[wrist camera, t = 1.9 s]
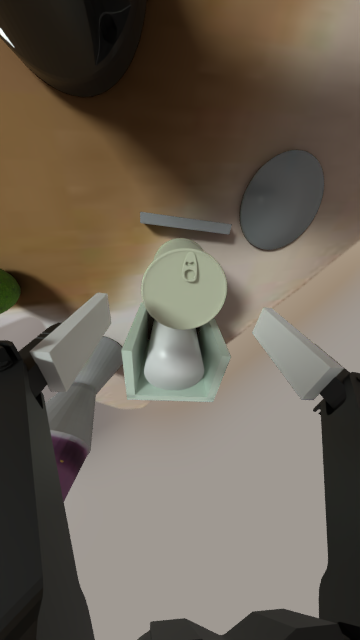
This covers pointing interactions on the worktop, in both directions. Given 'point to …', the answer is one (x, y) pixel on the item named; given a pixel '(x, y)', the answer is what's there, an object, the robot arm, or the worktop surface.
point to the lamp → (80, 411)
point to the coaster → (282, 199)
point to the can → (183, 285)
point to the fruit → (8, 291)
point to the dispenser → (174, 345)
